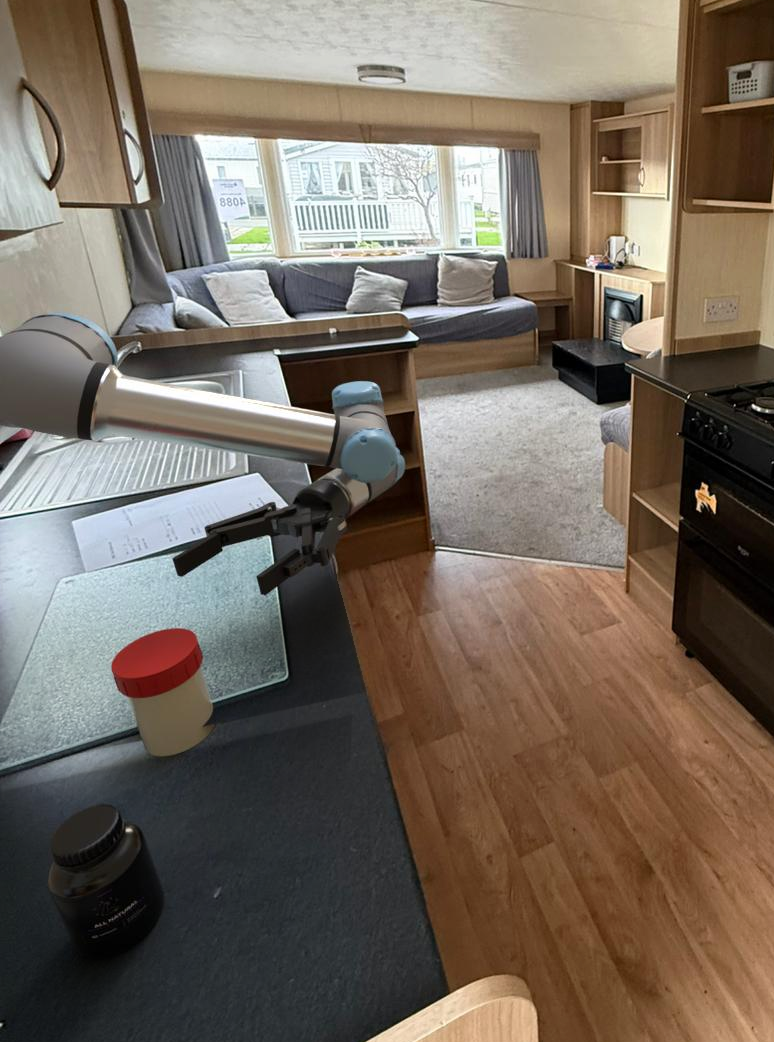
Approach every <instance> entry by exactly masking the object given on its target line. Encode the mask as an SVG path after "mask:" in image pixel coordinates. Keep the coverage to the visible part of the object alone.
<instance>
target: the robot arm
mask: <svg viewBox="0 0 774 1042" xmlns="http://www.w3.org/2000/svg"><path fill="white" fill-rule="evenodd" d="M116 347H117V346H116V345H115V343H114V341H113V339H112V338H111V337H110V335H109V334H108V333H107V332H106V331H105V330H104V329H103V328H101V327H100V326H99V325H97V324H96V323H94V322H92V321H91V320H89V319H87V318H85V317H83V316H80V315H76V314H73V313H72V314H71V313H64V312H50V313H44V314H37V315H35V316H32V317H31V318H29V319H27V320H25V321H24V322H23V323H22V324H21V325H20V326H17V327H16V328H14V329H12V330H10V331H8V332H6V333H4V334H3V335H1V336H0V445H1V444H2V443H4V442H5V441H6V440H8V439H10V438H11V437H13V436H14V435H16V434H17V433H18V432H20V431H21V430H29V431H32V432H37V433H41V434H46V435H52V436H58V437H63V438H71V439H78V440H85V441H91V442H98V441H100V440H102V439H104V438H106V437H108V436H115V437H123V438H128V439H129V438H130V439H134V440H136V439H137V440H143V441H148V442H149V441H151V442H157V443H164V444H170V445H177V446H183V447H190V448H198V449H204V450H211V451H218V452H225V453H232V454H238V455H244V456H252V457H257V458H265V459H270V460H271V459H273V460H277V461H278V460H280V461H284V462H285V461H286V462H292V463H299V464H305V465H312V466H318V467H319V466H320V467H326V468H327V467H328V468H331V469H332V468H333V469H332V470H331V471H329V472H327V473H326V474H324V475H323V476H321V477H319V478H318V479H317V480H314V481H313V482H311V483H310V484H309V485H307V486H305V487H303V488H302V489H300V490H299V491H298V492H297V493H296V495H295V497H294V499H293V501H292V503H290V505H287V506H284V507H282V508H280V507H277V504H276V502H275V501H269V502H267V503H266V504H264V505H262V506H260V507H258V508H254V509H252V510H249V511H246V512H243V513H240V514H236V515H234V516H231V517H228V518H225V519H222V520H219V521H216V522H213V523H210V524H207V525H206V526H204V532H205V535H206V537H204V538H203V539H201V540H199V541H198V542H196V543H195V544H193V545H191V546H190V547H189V548H187V549H186V550H183V551H182V552H180V553H179V554H177V555H175V556H173V557H172V559H171V560H172V562H173V565H174V568H175V572H176V575H177V577H181V578H182V577H185V576H186V575H188V574H189V573H191V572H192V571H194V570H195V569H197V568H199V567H200V566H203V564H205V563H206V562H208V561H209V560H211V559H213V558H215V557H216V556H217V555H219V554H221V553H222V552H223V551H224V549H223V548H224V547H229V546H232V545H236V544H240V543H244V542H249V541H251V540H255V539H259V538H263V537H266V536H268V537H270V538H275V537H279V536H290V537H292V538H300V537H301V544H300V549H301V552H300V549H299V548H293V549H292V550H290V551H289V552H288V553H286V554H285V555H284V556H282V557H281V558H279V559H278V560H277V561H275V562H274V563H273V564H271V565H269V566H268V567H267V568H265V569H264V570H263V571H261V572H260V573H258V574H257V575H256V576H255V577H256V581H257V585H258V589H259V593H260V595H262V596H267V595H268V594H270V593H271V592H272V591H274V590H275V589H276V588H277V587H279V586H280V585H281V584H282V583H284V582H285V581H287V580H288V579H289V578H292V577H295V576H296V575H297V574H298V573H300V572H302V570H304V569H305V568H307V567H312V566H314V565H315V564H319V567H325V566H328V565H329V564H330V561H331V559H332V557H333V555H334V553H335V550H336V547H337V546H338V542H339V540H340V538H341V537H342V536H343V535H344V534H345V533H346V532H347V531H348V527H347V521H346V520H347V519H348V518H349V517H351V516H352V515H353V514H355V513H356V512H357V511H359V510H360V509H361V508H363V507H364V506H366V505H367V504H368V503H370V502H371V501H373V500H374V499H375V498H377V497H379V496H380V495H381V494H383V493H384V492H387V490H390V488H392V487H393V486H394V485H395V484H396V483H397V482H398V481H399V480H401V478H402V477H403V476H404V473H405V470H406V461H405V458H404V456H403V455H402V454H401V451H400V449H399V448H398V447H397V444H396V440H395V439H394V437H393V435H392V433H391V430H390V426H389V423H388V419H387V417H386V414H385V408H384V399H383V398H382V397H383V396H382V392H381V388H380V386H379V385H378V384H377V383H375V382H373V381H364V380H363V381H362V380H359V381H358V380H357V381H350V382H345V383H341V384H339V385H337V386H336V387H335V388H334V389H332V391H331V400H332V410H333V413H328V412H322V411H317V410H313V409H307V408H301V407H297V406H292V405H291V406H290V405H285V404H279V403H274V402H269V401H265V400H258V399H253V398H247V397H243V396H237V395H231V394H226V393H221V392H215V391H211V390H210V391H209V390H204V389H200V388H195V387H188V386H185V385H178V384H172V383H167V382H162V381H156V380H151V379H146V378H140V377H135V376H131V375H125V374H123V373H122V372H121V371H120V370H119V368H118V363H119V356H118V351H117V348H116ZM273 523H275V525H276V528H274V526H273ZM316 533H322V535H321V537H320V540H319V541H318V544H317V546H316V547H315V545H316V544H315V543H316Z"/></svg>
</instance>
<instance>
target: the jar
mask: <svg viewBox="0 0 774 1042" xmlns="http://www.w3.org/2000/svg"><path fill="white" fill-rule="evenodd" d="M125 697H126V701H127V702H128V705H129V708H130V712H131V713H132V716H133V719H134V722H135V724H136V728H137V730H138V733H139V735H140V739H141V741H142V744H143V747H144V750H145V752H147V753H148V754H150V755H152V756H155V757H171V756H174V755H178V754H181V753H183V752H187V751H188V750H190V749H192V748H194V747H195V746H198V745H199V744H200V743H201V742H202V741H204V740H205V739H206V738H207V737H208V736H209V735H210V734H211V732H212V731H213V730H214V728H215V726H216V723H213V724H209V725H206V724H207V722H208V721H209V720H210V718H211V716H212V714H213V712H214V703H213V700H212V696H211V694H210V690H209V687H208V683H207V680H206V677H205V674H204V670H203V667H202V665H201V666H200V668H199V669H198V671H197V672H196V673H195V674H194V675H193V676H192V677H191V678H190V679H188V680H187V681H186V682H184V683H183V684H181V685H180V686H178V687H176V688H174V689H172V690H170V691H168V692H165V693H163V694H159V695H156V696H152V697H147V698H130V697H127V696H125Z"/></svg>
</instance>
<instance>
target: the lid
mask: <svg viewBox="0 0 774 1042" xmlns="http://www.w3.org/2000/svg"><path fill="white" fill-rule="evenodd" d="M203 659H204V655H203V652H202V649H201V645H200V644H199V640H198V636H197V635H196V633H195V632H194V631H192V630H191V629H187V628H182V627H175V628H174V627H173V628H167V629H165V628H164V629H161V630H157V631H153V632H150V633H148V634H146V635H143V636H141V637H139V638H137V639H135V640H134V641H131V642H130V643H128V644H127V645H126V646H124V647H123V648H121V650H120V651H119V652H118V653H116V655H115V656H114V657H113V659H112V661H111V665H110V669H111V672H112V675H113V680H114V682H115V685H116V688H117V690H118V692H120V694H122V695H123V696H125V697H126V696H127V697H130V698H147V697H152V696H156V695H159V694H163V693H165V692H168V691H170V690H172V689H174V688H176V687H178V686H180V685H181V684H183V683H184V682H186V681H187V680H188V679H190V678H191V677H192V676H193V675H194V674H195V673H196V672H197V671H198V669H199V668H200V666H201V667H202V664H203ZM127 697H126V698H127Z"/></svg>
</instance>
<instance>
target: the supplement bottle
mask: <svg viewBox="0 0 774 1042" xmlns="http://www.w3.org/2000/svg"><path fill="white" fill-rule="evenodd" d="M49 848H50V849H49V851H50V853H51V855H52V860H53V862H52V864H51V866H50V869H49V871H48V875H47V880H46V881H47V888H48V891H49V894H50V896H51V899H52V901H53V903H54V905H55V907H56V910H57V912H58V915H59V916H60V919H61V921H62V923H63V925H64V927H65V930H66V932H67V934H68V937H69V938H70V941H71V944H72V945H73V947H74V949H75V950H76V952H77V953H78V954H79V956H82V957H83V958H86V959H89V960H101V959H102V960H103V959H106V958H110V957H113V956H116V955H118V954H120V953H122V952H125V951H126V950H127V949H129V948H130V947H132V946H133V945H135V944H136V943H137V942H139V941H140V940H141V939H142V938H143V937H145V935H146V934H147V933H148V932H149V931H150V930H151V929H152V927H153V926H154V924H155V923H156V922H157V920H158V918H159V916H160V914H161V912H162V910H163V908H164V902H165V893H164V889H163V885H162V883H161V879H160V877H159V874H158V871H157V867H156V865H155V863H154V860H153V857H152V853H151V851H150V848H149V845H148V843H147V840H146V837H145V834H144V833H143V830H142V829H141V828H140V827H139V825H137V824H136V823H133V822H131V821H126V820H124V818H123V817H122V815H121V813H120V810H119V809H118V807H117V806H114V805H113V804H109V803H99V804H95V805H90V806H88V807H85V808H83V809H81V810H79V811H77V812H76V813H74V814H72V815H71V816H69V817H68V818H67V819H65V820H64V821H63V822H62V823H60V825H59V826H58V827H57V828H56V830H55V831H54V833H52V836H51V839H50V843H49Z"/></svg>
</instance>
